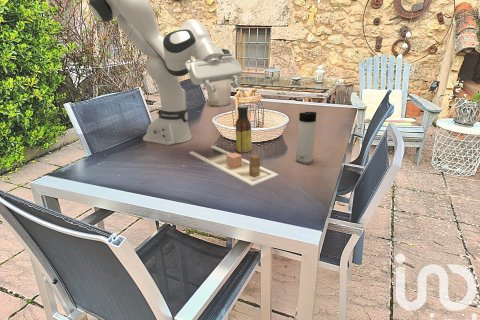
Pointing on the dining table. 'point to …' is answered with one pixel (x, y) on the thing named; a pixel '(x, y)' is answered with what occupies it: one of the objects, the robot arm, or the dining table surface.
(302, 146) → the travel mug
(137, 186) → the dining table surface
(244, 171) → the pale strip
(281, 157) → the dining table surface
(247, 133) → the sauce bottle
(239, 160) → the terracotta block
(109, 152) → the dining table surface
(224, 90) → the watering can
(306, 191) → the dining table surface
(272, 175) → the guide rails
